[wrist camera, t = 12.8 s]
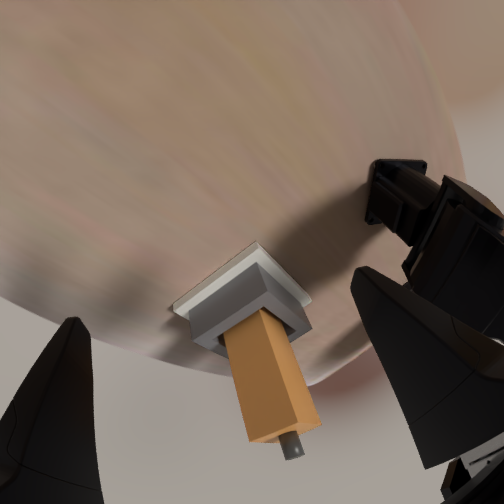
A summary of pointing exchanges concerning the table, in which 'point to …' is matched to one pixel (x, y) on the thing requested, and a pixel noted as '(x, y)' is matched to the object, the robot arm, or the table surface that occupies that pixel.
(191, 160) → the table surface
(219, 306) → the socket
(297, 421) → the plug
